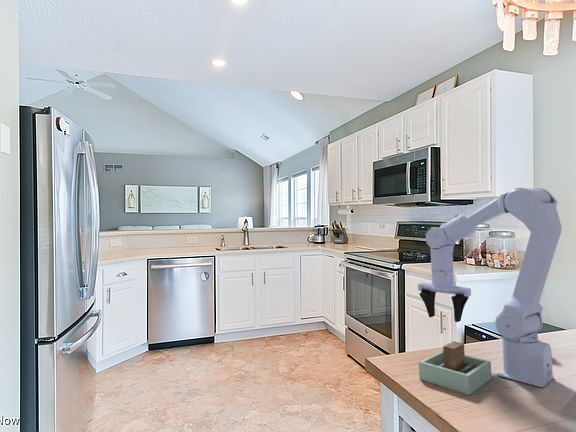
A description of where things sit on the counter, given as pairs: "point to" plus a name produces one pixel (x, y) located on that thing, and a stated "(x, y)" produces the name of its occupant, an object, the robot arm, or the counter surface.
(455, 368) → the wood grain brick
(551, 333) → the counter surface
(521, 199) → the robot arm
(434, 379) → the sage green storage tray
